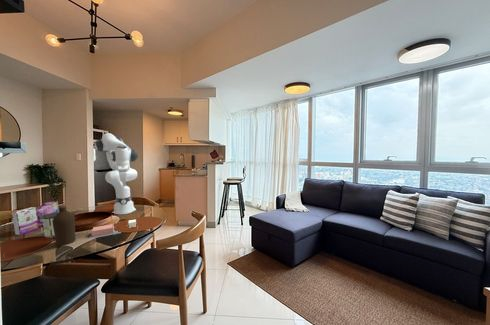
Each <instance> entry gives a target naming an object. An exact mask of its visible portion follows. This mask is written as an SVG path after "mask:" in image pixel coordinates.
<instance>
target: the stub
mask: <svg viewBox="0 0 490 325" xmlns="http://www.w3.org/2000/svg"><path fill="white" fill-rule="evenodd" d="M127 222H128V223H127V226H128V225H129V228H131V227H136V224H137V219H131V220H130V219H129V220H127Z"/></svg>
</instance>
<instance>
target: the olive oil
mask: <svg viewBox="0 0 490 325" xmlns="http://www.w3.org/2000/svg"><path fill="white" fill-rule="evenodd" d="M58 207H59V213H58V214H57V215H56V216H55V217H54V218H53V221H52V223H53V228H54V234H55V236H54V239H55V245H56V247H62V246H68V245H70V244H73V243H75V241H76V239H77V238H76V217H75V215H74V214H73V213H72V212H70V211H68V210H67V205H66V204H60V205H58Z"/></svg>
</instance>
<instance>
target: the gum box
mask: <svg viewBox="0 0 490 325" xmlns="http://www.w3.org/2000/svg"><path fill="white" fill-rule="evenodd" d="M35 208H36V212H37V219H38V226H40V225H43V219H42V216H44V215H46V214H49V213H55V212H59V201H58V200H52V201H45V202H43V203H42V204H41V205H39V206H38V207H35ZM40 227H41V226H40Z"/></svg>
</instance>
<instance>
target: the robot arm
mask: <svg viewBox="0 0 490 325" xmlns="http://www.w3.org/2000/svg"><path fill="white" fill-rule="evenodd" d="M101 136H102V137H101V139H98V140H96V141H95V142H94V148H95V150H96V151H98V152H105V154H106V155H105V156H106V159H107V162H108V164H109V167H110V168H111V169H112V171H111V170H110V171H108V172H107V173H105V176H104V178H105V181H106V182H107V183H108V184H111V185H112V186H113V187H114V190H115V196H116V197H115V203H114V204H113V209H114V210H113V211H112V213H114V214H113V215H115V214H116V215H127V214H131V213H132V212H135V211H137V209H136V208H135V205H134V201H133V200H132V196H131V187H130V186H128V185H127V184H126V183H127V182H131V181H133V180H136V179H137V178H138V171H137V170H136V169H134V168H132V167H131V166H130V162H131V163H134V162H136V161H137V159H138V155H139V154H138V152H137V151H136V150H135V149H133V148H131V146H129V145H128V144H127V143H125V142H124V140H123V139H122V138H121V137H120V136H115V135H114V134H113V133H109V132H106V133H103V135H101Z"/></svg>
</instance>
